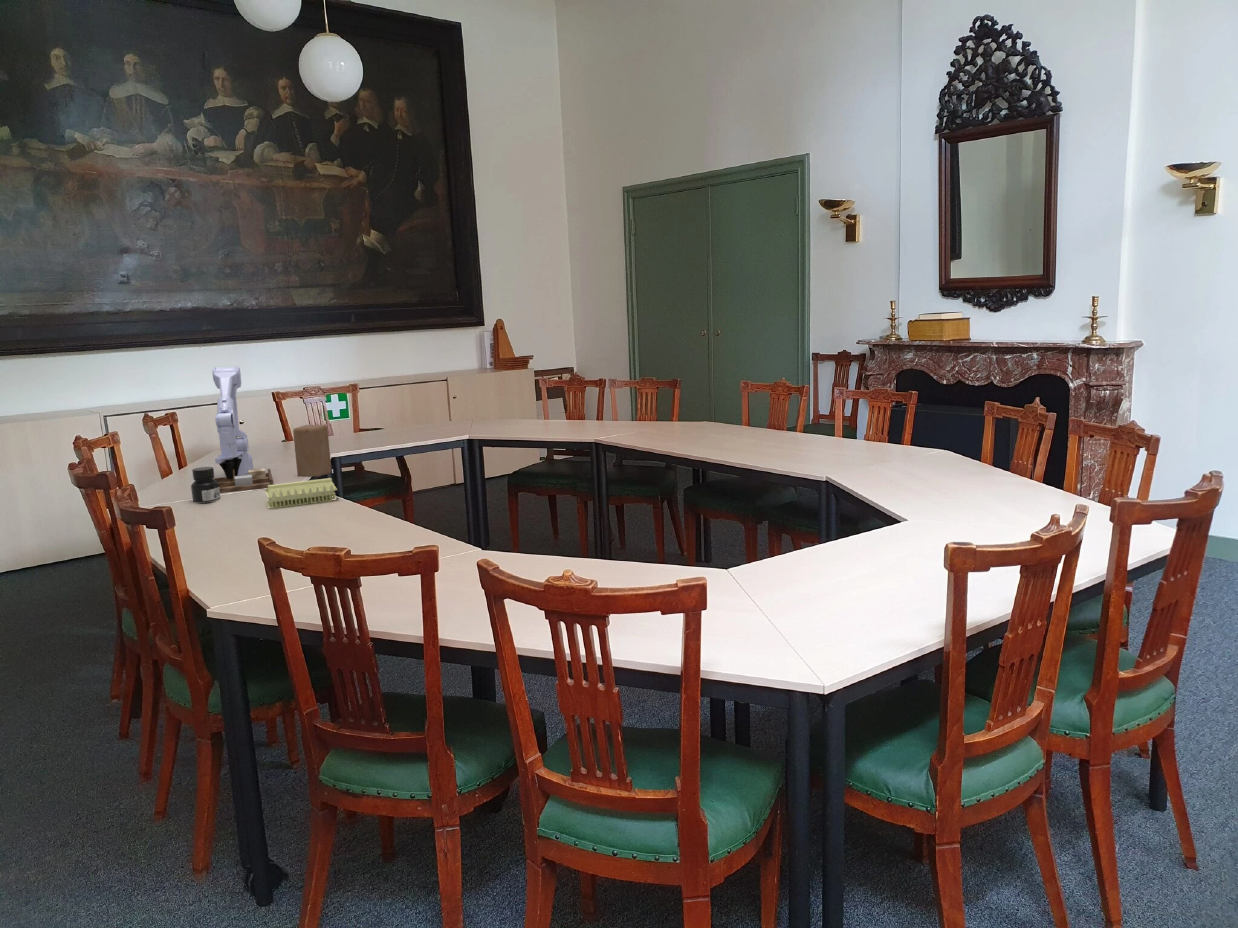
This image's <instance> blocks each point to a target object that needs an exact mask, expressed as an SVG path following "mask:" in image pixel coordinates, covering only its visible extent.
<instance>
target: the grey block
mask: <svg viewBox="0 0 1238 928" xmlns="http://www.w3.org/2000/svg"><path fill="white" fill-rule="evenodd" d="M234 478H235V487H238V486H247V485H253V482H252V475H249V474H244V476H241V475H238V476H235V477H234Z"/></svg>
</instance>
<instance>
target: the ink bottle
mask: <svg viewBox="0 0 1238 928" xmlns="http://www.w3.org/2000/svg"><path fill="white" fill-rule="evenodd" d="M191 471H192V478H193V482H192V483H191V485H190V489H191V497H192V503H196V504H197V505H205V504H212V503H216V502H217V501H218V500H220V499H221V493H220V491H219V483H218V482H217V481H216V480H215V479H213V478H215V470H214V467H213V466H200V467H195V468H192V469H191Z"/></svg>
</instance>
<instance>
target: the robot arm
mask: <svg viewBox="0 0 1238 928" xmlns="http://www.w3.org/2000/svg"><path fill="white" fill-rule="evenodd" d="M211 372H212V374H211V375H212V380H213V382H214V385H215V387H216V389H219V392H220V397H219V398H218V399H217V407H216V408H217V412H216V414H215V416H214V417H215V419H214V421H215V426H216V429H217V433H218V437H219V438H218V440H219V446H220V454H219V456H218V457H215V458H214V462H215V464H218V465H219V466H220V467H221V469H222V470H223V472H224V475H225V477H227V479H233V469H234V471H235V476H241V475H248V474H249V472H248V470H253V469H254V464H253V463H254V462H253V457H252V455H251V454H250V453H249V449H250V448H249V440H248V435H247V434H246V432H244V431H243V430H241V429H240V426H239V424H240V423H239V415H238V414H239V413H238V402H237V401H238V400H237V391H238V389H239V388H242V376H241V375H242V374H241V369H240V367H239V366H224V367H223V366H221V367H215V366H214V367H213V368H212V371H211Z"/></svg>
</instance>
